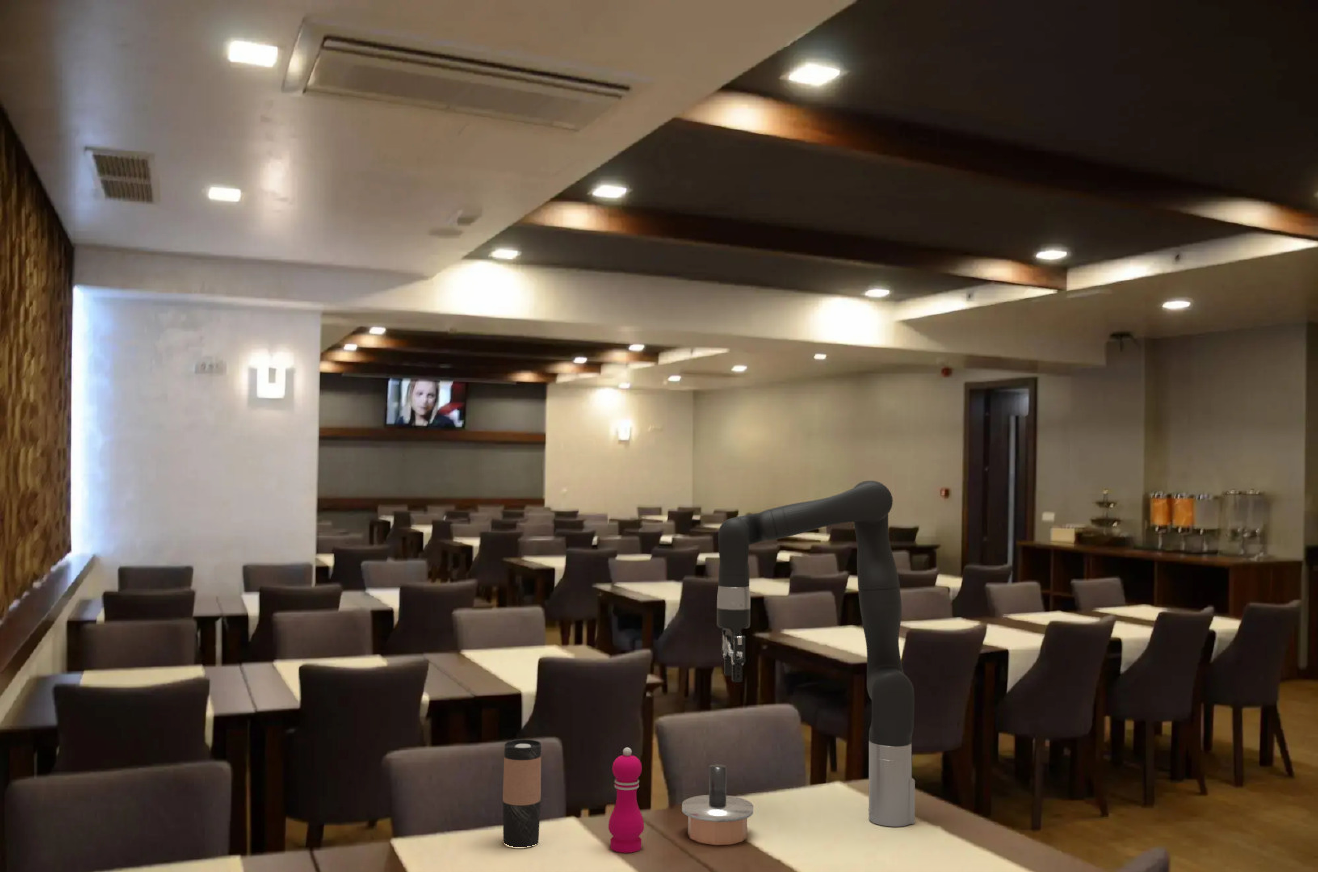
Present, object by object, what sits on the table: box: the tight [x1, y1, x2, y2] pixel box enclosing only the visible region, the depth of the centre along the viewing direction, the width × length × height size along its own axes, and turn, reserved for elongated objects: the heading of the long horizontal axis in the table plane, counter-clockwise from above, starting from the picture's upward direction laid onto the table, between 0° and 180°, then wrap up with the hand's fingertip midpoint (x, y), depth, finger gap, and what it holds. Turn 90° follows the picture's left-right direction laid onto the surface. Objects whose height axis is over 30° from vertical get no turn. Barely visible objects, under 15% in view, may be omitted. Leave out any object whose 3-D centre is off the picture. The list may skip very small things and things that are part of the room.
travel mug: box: [502, 739, 542, 847], centre depth 216 cm, size 8×8×20 cm
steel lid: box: [681, 763, 754, 822], centre depth 223 cm, size 15×15×9 cm
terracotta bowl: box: [687, 816, 748, 846], centre depth 222 cm, size 12×12×5 cm
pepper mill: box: [607, 747, 645, 854], centre depth 214 cm, size 7×7×20 cm
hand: (733, 678), depth 238 cm, fingers open, 8 cm apart
